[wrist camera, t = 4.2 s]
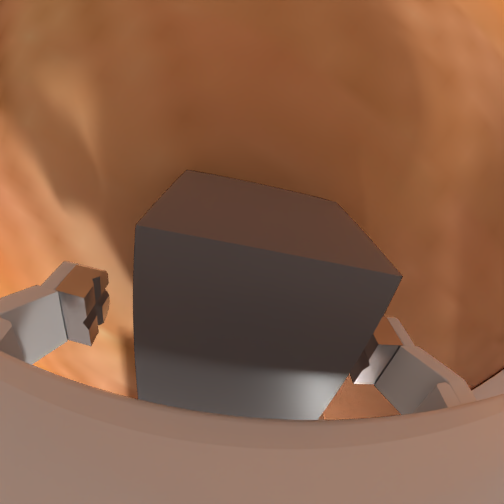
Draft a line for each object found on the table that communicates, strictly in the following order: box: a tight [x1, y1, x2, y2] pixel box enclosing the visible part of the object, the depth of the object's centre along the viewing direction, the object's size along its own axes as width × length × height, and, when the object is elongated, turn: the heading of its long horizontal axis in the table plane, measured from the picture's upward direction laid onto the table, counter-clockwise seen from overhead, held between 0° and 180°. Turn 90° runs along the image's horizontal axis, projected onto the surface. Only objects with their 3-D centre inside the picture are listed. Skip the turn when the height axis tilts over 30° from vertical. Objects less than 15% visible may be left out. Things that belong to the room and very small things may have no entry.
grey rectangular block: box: [133, 170, 403, 420], centre depth 9 cm, size 5×7×5 cm
